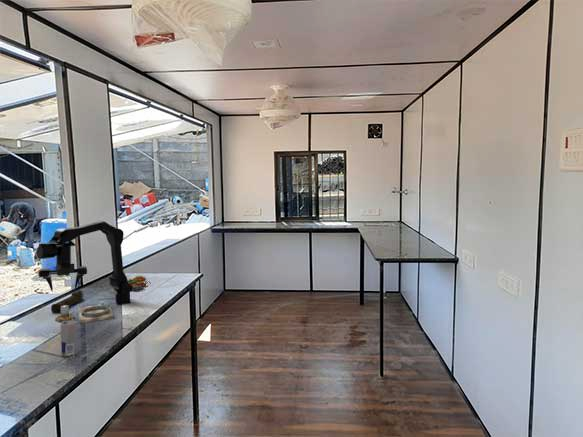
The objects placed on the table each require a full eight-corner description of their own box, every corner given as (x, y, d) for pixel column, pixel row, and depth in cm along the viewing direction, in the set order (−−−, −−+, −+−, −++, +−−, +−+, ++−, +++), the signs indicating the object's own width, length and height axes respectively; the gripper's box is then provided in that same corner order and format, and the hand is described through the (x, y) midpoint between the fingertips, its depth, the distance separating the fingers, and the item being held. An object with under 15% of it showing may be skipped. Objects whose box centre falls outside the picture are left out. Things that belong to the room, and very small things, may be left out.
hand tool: (60, 313, 186) (60, 302, 185) (50, 313, 186) (50, 302, 186) (88, 299, 208) (87, 289, 208) (79, 299, 209) (79, 289, 208)
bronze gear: (74, 315, 184) (74, 302, 183) (75, 320, 177) (74, 307, 177) (55, 317, 180) (55, 305, 179) (55, 323, 173) (54, 310, 173)
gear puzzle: (129, 279, 253) (129, 273, 252) (155, 279, 254) (155, 273, 254) (113, 293, 222) (113, 286, 221) (142, 292, 224) (142, 285, 223)
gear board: (109, 305, 198) (109, 299, 197) (113, 318, 181) (113, 311, 180) (78, 310, 191) (77, 303, 190) (79, 323, 174) (79, 315, 173)
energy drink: (66, 350, 146) (64, 319, 144) (81, 350, 146) (79, 319, 145) (58, 357, 140) (57, 325, 139) (74, 356, 141) (73, 324, 140)
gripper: (37, 260, 165) (38, 296, 166) (87, 258, 174) (87, 292, 175) (39, 256, 174) (40, 290, 175) (86, 254, 184) (86, 286, 185)
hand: (63, 290), depth 177 cm, fingers open, 9 cm apart
